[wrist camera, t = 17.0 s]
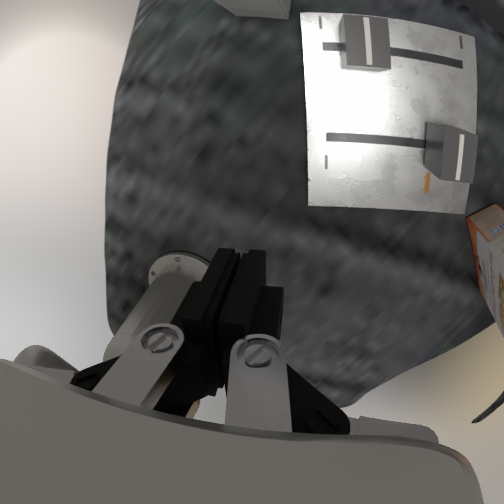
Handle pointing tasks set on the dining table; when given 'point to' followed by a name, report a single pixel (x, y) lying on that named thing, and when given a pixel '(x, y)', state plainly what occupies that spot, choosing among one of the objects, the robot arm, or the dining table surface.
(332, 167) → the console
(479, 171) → the dining table surface
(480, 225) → the cracker box
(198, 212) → the dining table surface
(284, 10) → the skincare box
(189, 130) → the dining table surface
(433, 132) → the fader
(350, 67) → the fader
